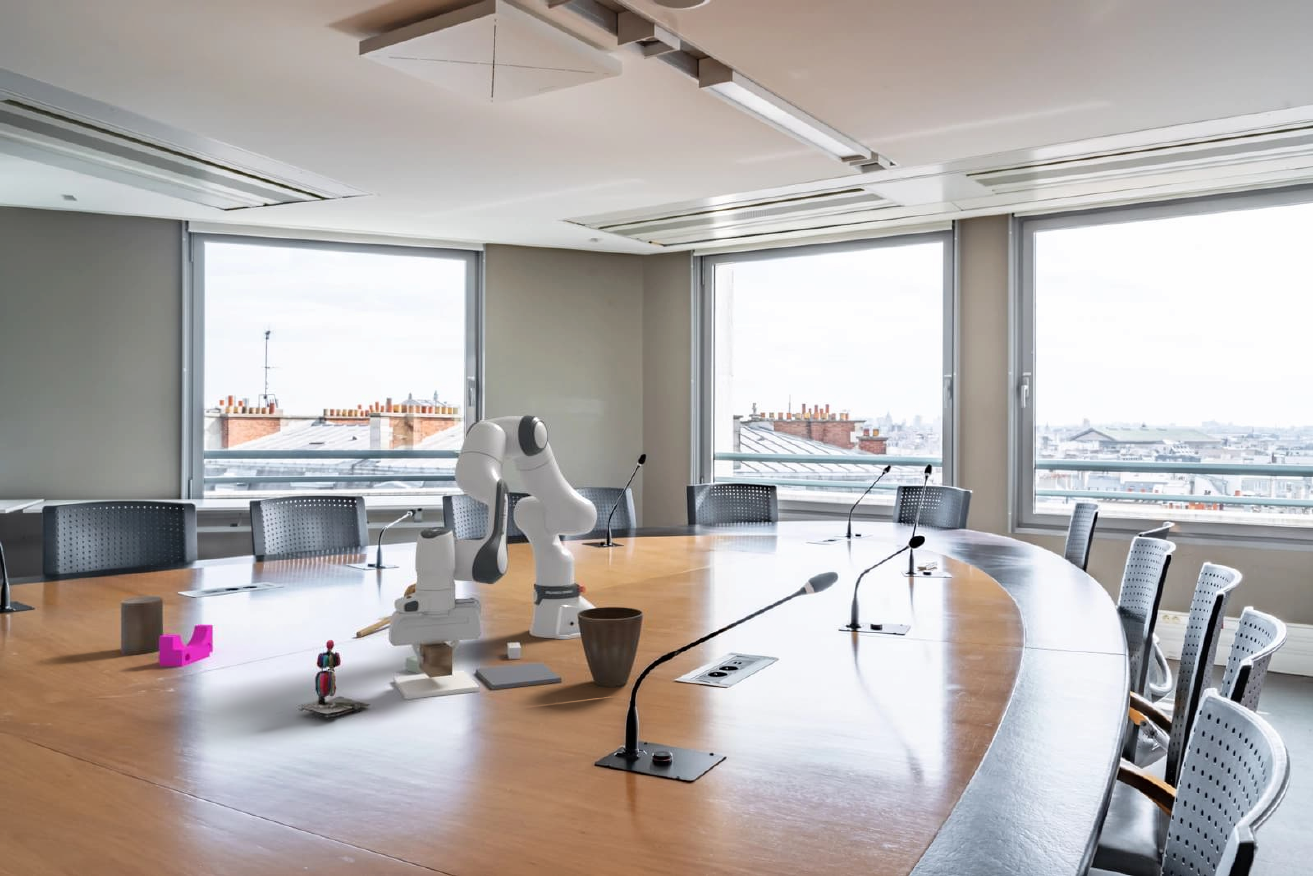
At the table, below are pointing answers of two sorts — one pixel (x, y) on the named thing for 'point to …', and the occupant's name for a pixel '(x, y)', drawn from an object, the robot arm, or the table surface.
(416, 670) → the sage brick
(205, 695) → the table surface
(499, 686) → the charcoal mat
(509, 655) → the pale grey brick
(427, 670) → the walnut brick
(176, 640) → the magenta cradle bracket
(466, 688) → the off-white mat
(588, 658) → the plant pot
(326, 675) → the statue
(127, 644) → the pillar candle
